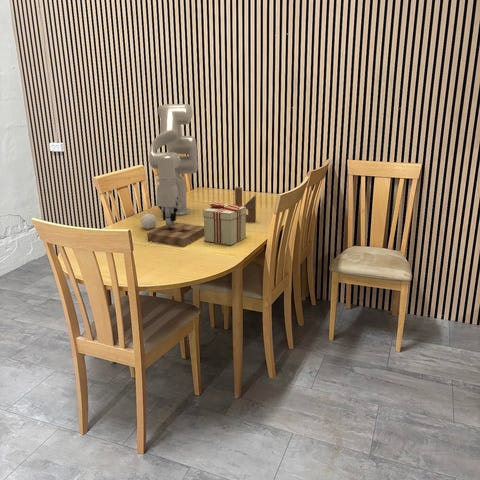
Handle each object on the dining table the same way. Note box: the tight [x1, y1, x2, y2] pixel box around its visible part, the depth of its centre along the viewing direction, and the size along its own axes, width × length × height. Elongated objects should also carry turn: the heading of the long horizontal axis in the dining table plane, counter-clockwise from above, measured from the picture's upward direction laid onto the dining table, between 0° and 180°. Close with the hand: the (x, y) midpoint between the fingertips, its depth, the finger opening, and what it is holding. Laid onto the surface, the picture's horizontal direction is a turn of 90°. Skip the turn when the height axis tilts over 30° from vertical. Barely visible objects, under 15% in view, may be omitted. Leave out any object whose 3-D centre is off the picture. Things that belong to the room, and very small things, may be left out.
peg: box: [165, 207, 175, 226], centre depth 228 cm, size 4×4×11 cm
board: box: [146, 221, 205, 248], centre depth 229 cm, size 20×20×4 cm
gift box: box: [202, 201, 247, 246], centre depth 226 cm, size 17×18×17 cm
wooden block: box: [234, 186, 257, 224], centre depth 252 cm, size 4×11×18 cm, turn 77°
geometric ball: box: [140, 212, 157, 230], centre depth 244 cm, size 8×8×8 cm
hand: (169, 220), depth 229 cm, fingers closed on peg, 3 cm apart
